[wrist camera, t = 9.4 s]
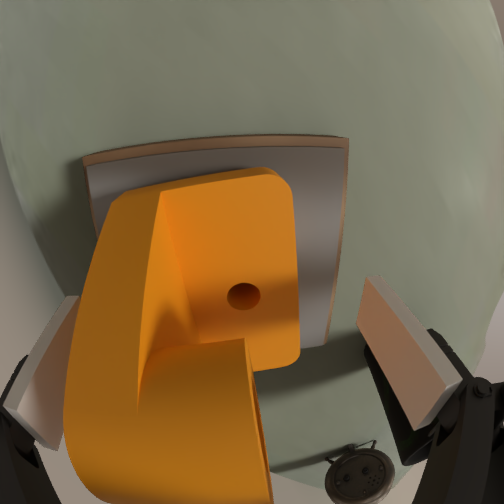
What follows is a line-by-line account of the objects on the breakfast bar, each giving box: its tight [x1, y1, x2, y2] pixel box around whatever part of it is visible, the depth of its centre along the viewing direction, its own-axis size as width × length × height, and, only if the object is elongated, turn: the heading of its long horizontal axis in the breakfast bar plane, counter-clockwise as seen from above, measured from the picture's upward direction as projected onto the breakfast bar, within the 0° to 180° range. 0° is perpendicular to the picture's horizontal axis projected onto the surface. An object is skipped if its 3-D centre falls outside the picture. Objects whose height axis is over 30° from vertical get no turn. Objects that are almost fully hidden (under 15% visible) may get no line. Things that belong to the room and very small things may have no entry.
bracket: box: [63, 167, 300, 504], centre depth 10 cm, size 11×7×12 cm, turn 7°
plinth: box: [82, 134, 349, 349], centre depth 17 cm, size 14×14×3 cm
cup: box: [364, 344, 439, 466], centre depth 19 cm, size 8×8×12 cm
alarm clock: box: [325, 440, 395, 504], centre depth 28 cm, size 11×5×16 cm, turn 109°
